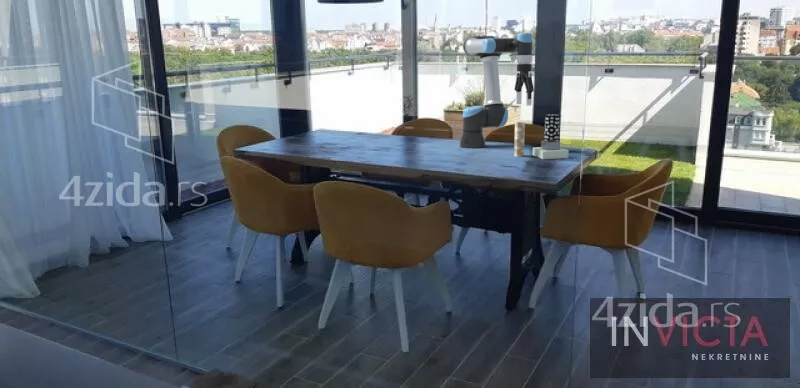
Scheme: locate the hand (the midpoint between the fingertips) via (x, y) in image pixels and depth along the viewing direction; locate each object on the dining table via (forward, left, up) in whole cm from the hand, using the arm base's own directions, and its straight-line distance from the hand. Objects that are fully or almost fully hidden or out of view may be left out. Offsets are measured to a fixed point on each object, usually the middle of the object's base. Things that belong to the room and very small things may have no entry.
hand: (523, 104), depth 327 cm
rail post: (-2, -2, -27) cm, 27 cm away
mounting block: (+13, -8, -27) cm, 31 cm away
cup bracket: (+13, -8, -23) cm, 27 cm away
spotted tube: (+21, +9, -27) cm, 35 cm away
